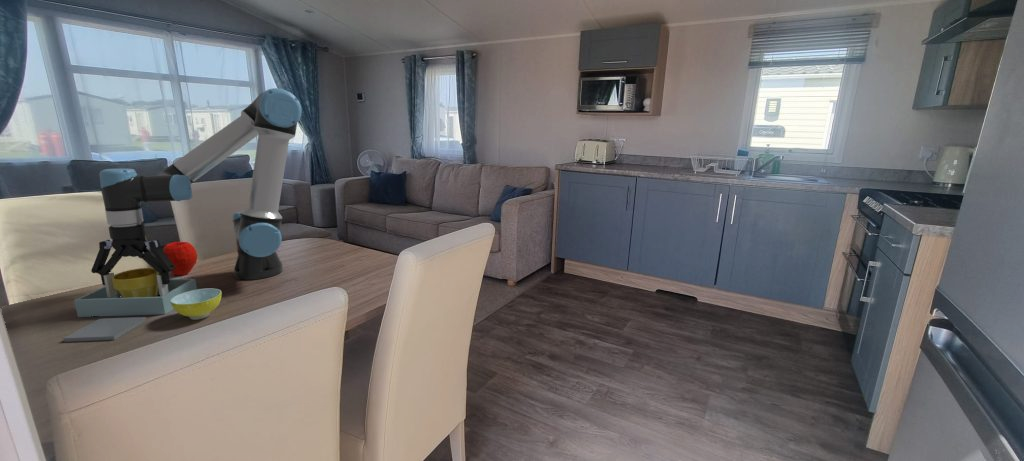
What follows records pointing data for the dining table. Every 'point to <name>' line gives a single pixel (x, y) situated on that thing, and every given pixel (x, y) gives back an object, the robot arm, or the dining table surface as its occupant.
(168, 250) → the apple
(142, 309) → the crate
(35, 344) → the dining table surface
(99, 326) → the plate
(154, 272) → the plant pot
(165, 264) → the robot arm
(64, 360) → the dining table surface
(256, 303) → the dining table surface
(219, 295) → the bowl
